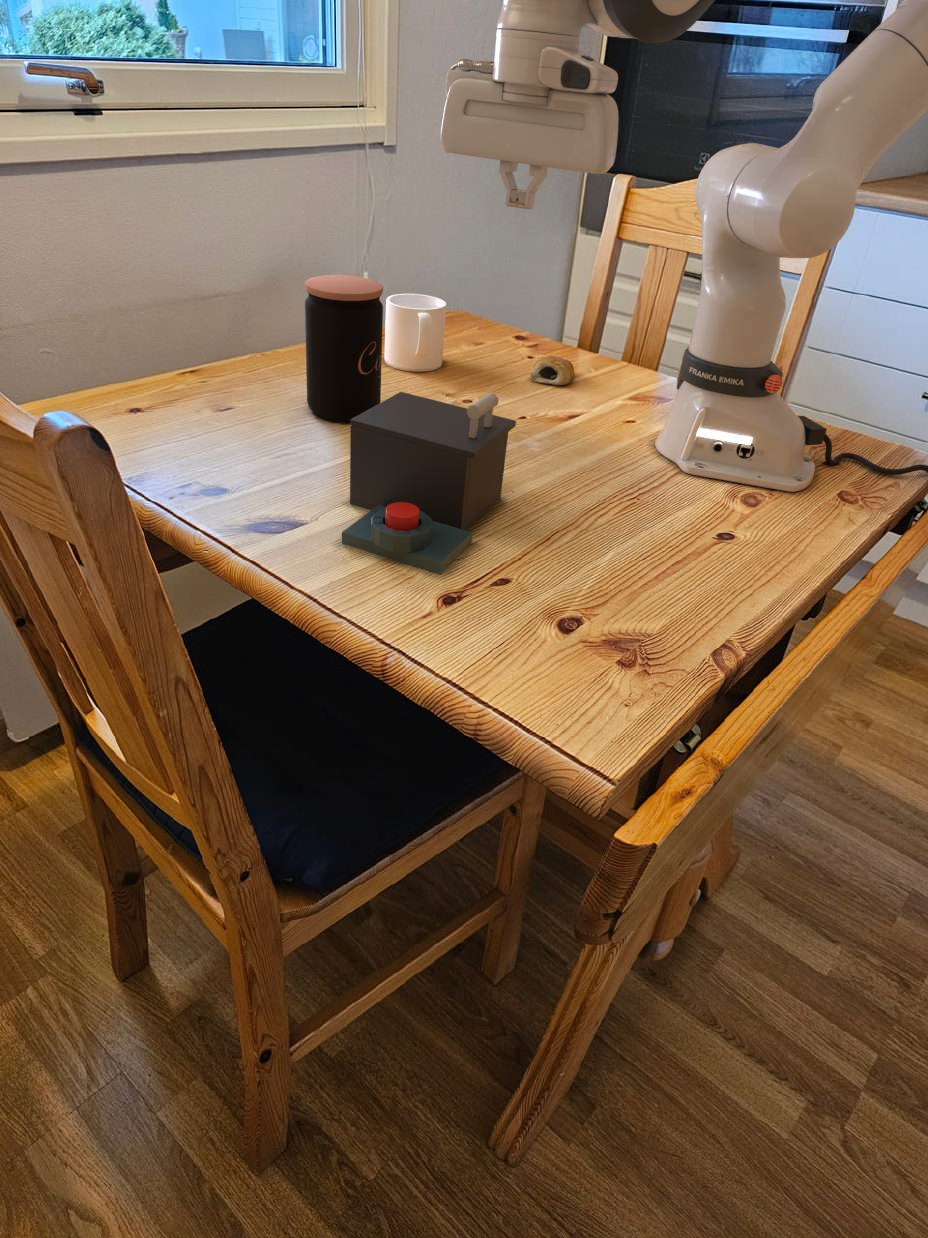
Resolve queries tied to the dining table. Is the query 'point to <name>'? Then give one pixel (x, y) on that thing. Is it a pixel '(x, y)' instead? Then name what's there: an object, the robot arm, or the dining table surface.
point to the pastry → (552, 371)
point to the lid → (438, 423)
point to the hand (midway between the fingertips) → (519, 207)
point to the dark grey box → (425, 477)
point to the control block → (408, 540)
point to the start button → (402, 516)
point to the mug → (414, 332)
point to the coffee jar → (343, 345)
